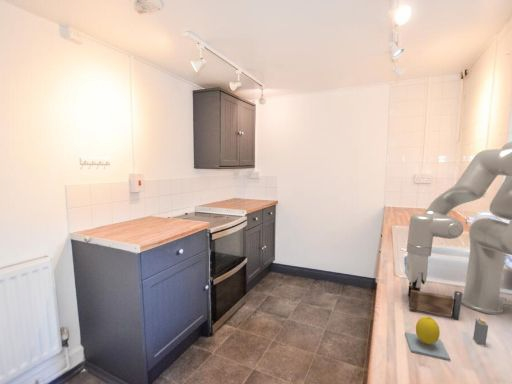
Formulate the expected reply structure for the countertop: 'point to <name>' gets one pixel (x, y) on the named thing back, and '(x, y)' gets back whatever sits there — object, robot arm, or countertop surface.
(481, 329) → the post
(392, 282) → the countertop surface
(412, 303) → the brown wooden block
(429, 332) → the lemon
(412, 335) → the mat
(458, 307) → the gatepost
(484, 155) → the robot arm
